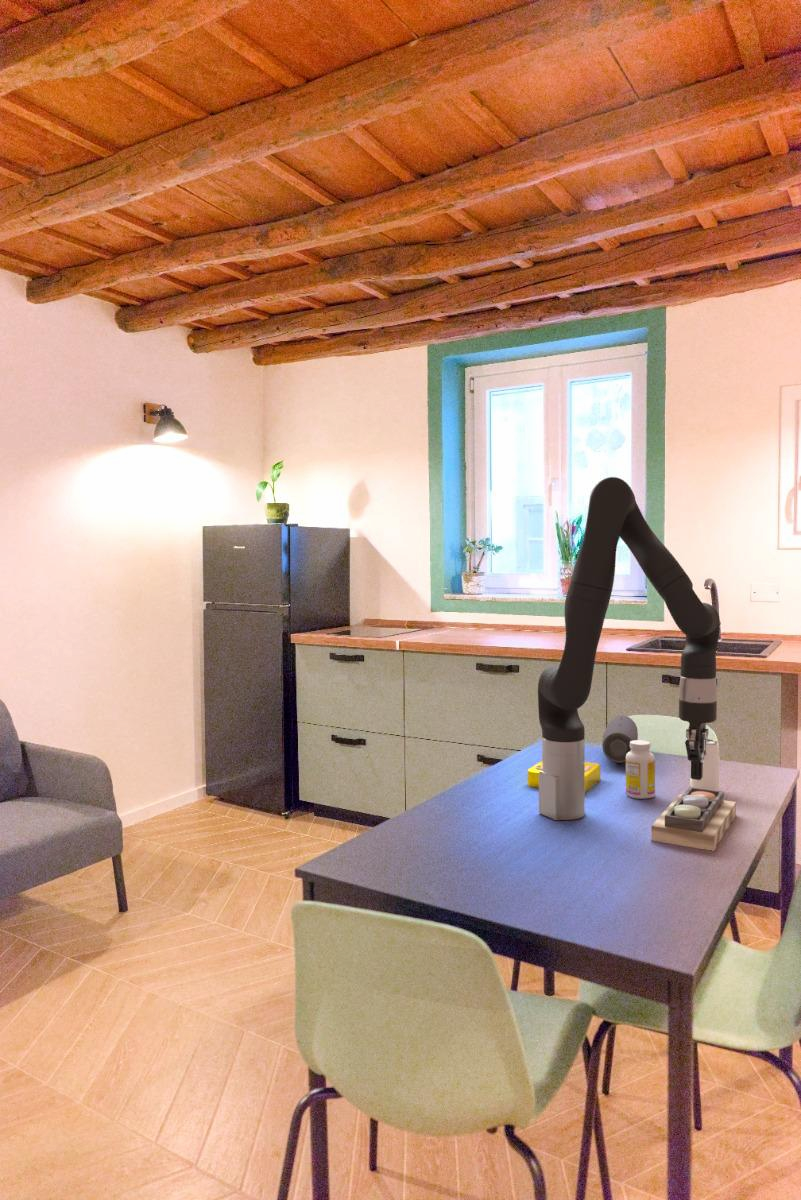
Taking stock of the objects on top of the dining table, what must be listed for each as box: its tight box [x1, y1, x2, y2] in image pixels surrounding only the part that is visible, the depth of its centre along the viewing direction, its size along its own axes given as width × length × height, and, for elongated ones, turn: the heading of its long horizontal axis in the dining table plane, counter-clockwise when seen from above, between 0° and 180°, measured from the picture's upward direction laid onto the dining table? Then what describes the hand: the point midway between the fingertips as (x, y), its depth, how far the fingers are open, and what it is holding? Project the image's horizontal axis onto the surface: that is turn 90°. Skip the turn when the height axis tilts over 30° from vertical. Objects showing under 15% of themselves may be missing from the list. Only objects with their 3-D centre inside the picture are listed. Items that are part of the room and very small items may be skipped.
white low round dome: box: [683, 795, 708, 809], centre depth 173 cm, size 5×5×2 cm
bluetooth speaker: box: [601, 715, 639, 764], centre depth 230 cm, size 23×9×10 cm, turn 162°
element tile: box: [527, 760, 601, 793], centre depth 207 cm, size 15×15×5 cm
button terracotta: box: [691, 791, 715, 799], centre depth 179 cm, size 5×5×2 cm
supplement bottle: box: [625, 739, 656, 800], centre depth 195 cm, size 7×7×13 cm
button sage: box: [674, 805, 701, 820], centre depth 166 cm, size 5×5×2 cm
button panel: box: [650, 786, 737, 852], centre depth 173 cm, size 24×12×5 cm, turn 148°
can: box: [689, 738, 720, 791], centre depth 198 cm, size 6×6×12 cm
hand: (696, 778), depth 174 cm, fingers closed
